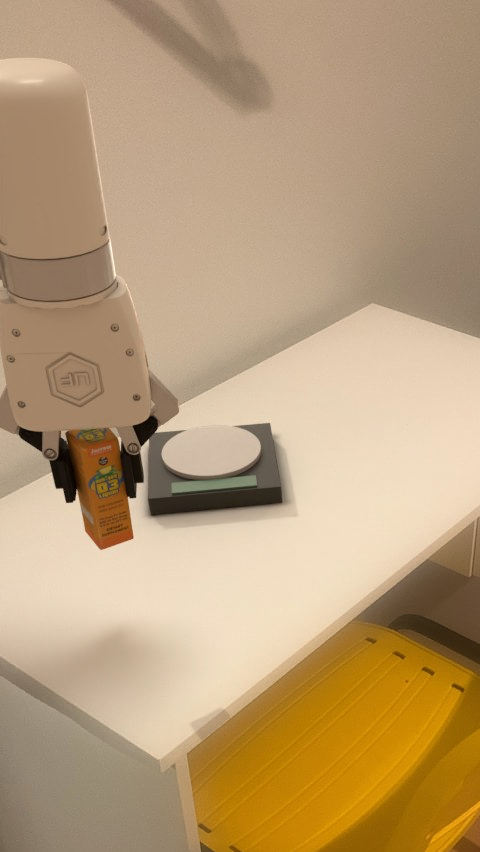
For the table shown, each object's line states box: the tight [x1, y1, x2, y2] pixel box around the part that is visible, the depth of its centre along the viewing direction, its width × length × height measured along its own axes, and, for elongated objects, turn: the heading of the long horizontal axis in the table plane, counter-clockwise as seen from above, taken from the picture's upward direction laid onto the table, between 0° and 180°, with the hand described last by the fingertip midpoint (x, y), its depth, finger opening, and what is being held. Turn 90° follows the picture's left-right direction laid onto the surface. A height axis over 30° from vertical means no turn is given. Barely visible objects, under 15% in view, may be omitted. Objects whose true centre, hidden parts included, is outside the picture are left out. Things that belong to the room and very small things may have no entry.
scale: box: [147, 422, 283, 516], centre depth 107 cm, size 14×14×3 cm
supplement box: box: [64, 428, 134, 551], centre depth 78 cm, size 3×3×10 cm
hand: (102, 489), depth 79 cm, fingers closed on supplement box, 4 cm apart
